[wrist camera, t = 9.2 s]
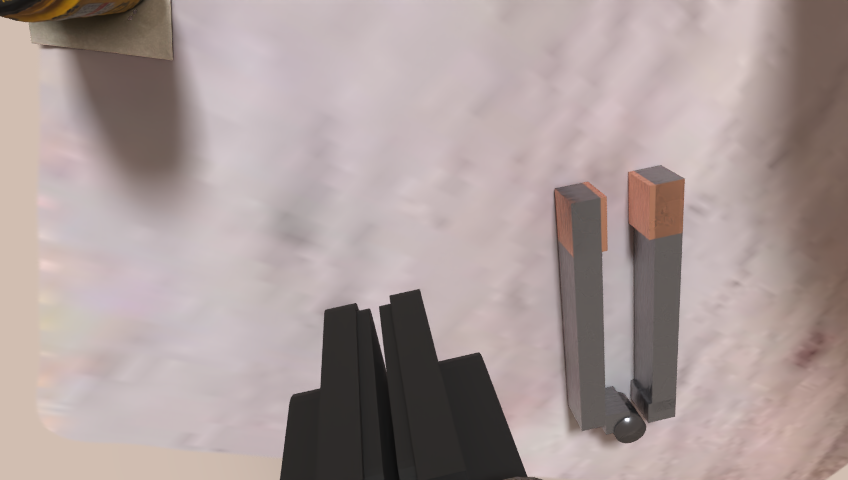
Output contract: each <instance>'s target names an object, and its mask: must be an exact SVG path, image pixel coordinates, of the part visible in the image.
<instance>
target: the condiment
mask: <svg viewBox="0 0 848 480" xmlns="http://www.w3.org/2000/svg"><path fill="white" fill-rule="evenodd" d="M134 10H137V13H136V14H134V13H133V11H134ZM0 16H2V17H5V18H9V19H12V20H16V21H22V22H29V28H30V34H31V41H32V43H34V44H42V45H52V46H60V47H69V48H78V49H86V50H95V51H102V52H110V53H119V54H126V55H134V56H142V57H151V58H157V59H165V60H173V51H172V29H171V4H170V0H0ZM130 16H133V18H132V20H128V18H129V17H130Z"/></svg>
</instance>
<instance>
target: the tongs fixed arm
mask: <svg viewBox="0 0 848 480" xmlns="http://www.w3.org/2000/svg"><path fill="white" fill-rule="evenodd" d="M628 175H629V224H631V225H632V226H633V227H634V380H631V399H632V400H633V402H634V403H635V404H636V406H637V407H638V409H639V410H640V412H641V413H642V414H643V416H644V417H645V419H646V420H647V422H648V423H650V422H654V421H658V420H662V419H667V418H671V417H675V405H676V380H677V356H678V331H679V307H680V282H681V258H682V233H683V208H684V184H685V179H684V178H683V177H681V176H679V175H677V174H676V173H674V172H672V171H670V170H668V169H667V168H665V167H663V166H661V165H660V166H655V167H651V168H646V169H641V170H636V171H632V172H628Z"/></svg>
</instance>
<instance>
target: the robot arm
mask: <svg viewBox="0 0 848 480" xmlns="http://www.w3.org/2000/svg"><path fill="white" fill-rule="evenodd" d="M390 303H391V304H388V305H383V306H379V310H380V319H381V327H382V336H383V345H384V353H385V362H386V368H385V364H384V360H383V356H382V352H381V349H380V345H379V341H378V337H377V333H376V329H375V325H374V321H373V317H372V314H371V310H370V309H365V310H360V311H359V309H358V306H357V304H356V303H354V304H349V305H345V306H340V307H336V308H331V309H327V310H325V313H324V330H323V349H322V368H321V387H320V389H316V390H311V391H307V392H302V393H298V394H294V395H293V396H292V397H291V400H290V404H289V412H288V420H287V428H286V436H285V444H284V452H283V460H282V469H281V476H280V480H542V479H538V478H535V477H527V474H526V472H525V469H524V466H523V464H522V461H521V459H520V456H519V453H518V451H517V448H516V445H515V443H514V440H513V437H512V435H511V432H510V429H509V427H508V424H507V421H506V419H505V416H504V413H503V411H502V408H501V405H500V403H499V400H498V398H497V395H496V392H495V390H494V387H493V384H492V382H491V379H490V376H489V374H488V371H487V368H486V366H485V363H484V360H483V358H482V356H481V354H480V353H474V354H470V355H465V356H461V357H456V358H452V359H448V360H443V361H439V362H438V359H437V355H436V351H435V347H434V343H433V339H432V335H431V331H430V327H429V324H428V320H427V316H426V312H425V308H424V304H423V300H422V296H421V292H420V289H418V290H413V291H409V292H404V293H399V294H395V295H390ZM386 370H387V372H386Z"/></svg>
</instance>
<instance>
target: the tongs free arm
mask: <svg viewBox="0 0 848 480" xmlns="http://www.w3.org/2000/svg"><path fill="white" fill-rule="evenodd" d="M555 199H556V215H557V231H558V248H559V264H560V280H561V296H562V312H563V328H564V344H565V360H566V376H567V392H568V406H569V408H570V410H571V411H572V413H573V415H574V417H575V419H576V421H577V423H578V424H579V426H580V428H581V430H582V431H584V430H589V429H593V428H597V427H602V428H603V430H604V432H605V434H606V435H607V434H611V433H614V435H615V437H616V438H617V440H618V441H620V442H622V443H631V442H634V441H636V440H638V439H639V438H641V437H642V436H643V434H644V433H645V431H646V424H645V423H644V421H643V420H642V418H641V417H640V415H639V414H638V412H637V411H636V409H635V408H634V407H633V405H632V404H631V402H630V401H629V399H628V398H627V396H626V395H625V394H623V393H620V392H617V391H616V390H615V388H614V387H613V386H612V387H608V388H605V365H604V323H603V280H602V252H603V251H607V197H606V196H605V195H604V194H603V193H601V192H600V191H599V190H598V189H596V188H595V187H594V186H593V185H591V184H590V183H589V182H584V183H579V184H575V185H570V186H565V187H560V188H555Z"/></svg>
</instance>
